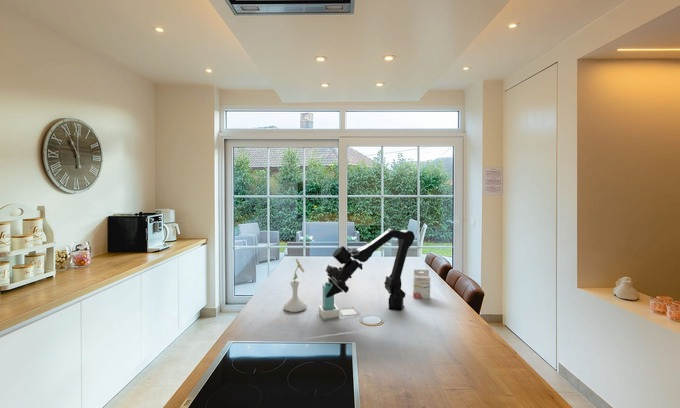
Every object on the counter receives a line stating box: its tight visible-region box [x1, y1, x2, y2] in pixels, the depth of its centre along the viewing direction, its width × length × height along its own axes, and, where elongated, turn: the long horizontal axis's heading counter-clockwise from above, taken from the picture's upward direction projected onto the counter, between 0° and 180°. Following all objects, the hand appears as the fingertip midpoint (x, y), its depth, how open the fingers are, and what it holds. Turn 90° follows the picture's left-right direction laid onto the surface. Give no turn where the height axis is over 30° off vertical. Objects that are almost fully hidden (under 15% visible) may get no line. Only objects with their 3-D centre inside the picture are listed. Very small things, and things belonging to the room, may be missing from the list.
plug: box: [322, 281, 335, 310], centre depth 160 cm, size 4×4×13 cm
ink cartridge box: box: [412, 269, 431, 300], centre depth 185 cm, size 9×5×15 cm, turn 84°
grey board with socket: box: [315, 303, 362, 322], centre depth 162 cm, size 19×13×4 cm
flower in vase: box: [283, 258, 308, 313], centre depth 169 cm, size 13×11×25 cm
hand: (325, 295), depth 159 cm, fingers closed on plug, 4 cm apart
